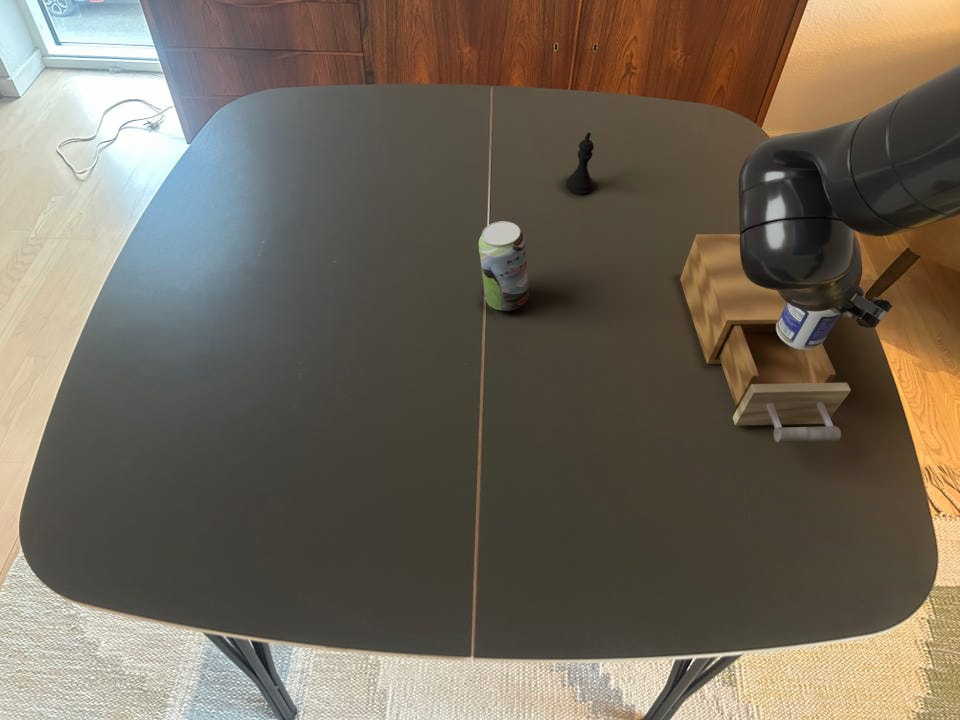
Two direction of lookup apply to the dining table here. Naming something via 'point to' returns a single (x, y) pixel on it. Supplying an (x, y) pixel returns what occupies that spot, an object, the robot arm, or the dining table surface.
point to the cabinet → (723, 292)
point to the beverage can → (504, 266)
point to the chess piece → (582, 170)
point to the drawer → (780, 384)
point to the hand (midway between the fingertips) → (825, 294)
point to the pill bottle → (804, 327)
